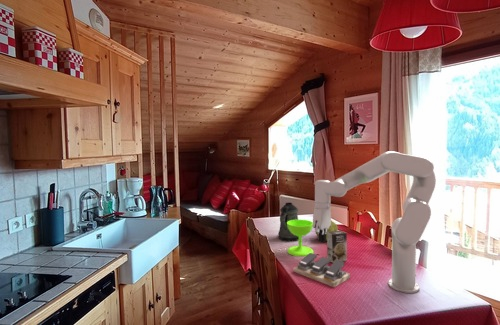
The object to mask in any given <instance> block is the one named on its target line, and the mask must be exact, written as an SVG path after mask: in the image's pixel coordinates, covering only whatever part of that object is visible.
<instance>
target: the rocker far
mask: <svg viewBox="0 0 500 325" xmlns="http://www.w3.org/2000/svg"><path fill="white" fill-rule="evenodd" d="M317 258H318V254H315V253H309V254H308V255H307V256H303V258H302V259H301V260H300V261H299V262H298V265H302V266H305V267H307V266H308V265H309V264H310V263H311V262H312V261H315V260H316V259H317Z"/></svg>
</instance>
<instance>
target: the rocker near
mask: <svg viewBox="0 0 500 325" xmlns="http://www.w3.org/2000/svg"><path fill="white" fill-rule="evenodd" d="M329 266H330V268H329V269H328V270H327V271H326V272H325V274H326V275H328V276H331V277H333V278H334V277H335V276H336V275H337V273H338V272H339V271H340V270H342V269H343V267H344V266H345V262H344V261H343V262H340V261H337V260H336V261H335V262H334V263H332V264H331V265H329Z"/></svg>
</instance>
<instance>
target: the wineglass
mask: <svg viewBox="0 0 500 325" xmlns="http://www.w3.org/2000/svg"><path fill="white" fill-rule="evenodd" d="M287 227H288V229H289V230H290V232H291V233H292V234H294V235H296V236H299V240H298V245H293V246H290V247H288V248H287V252H286V253H288V254H289V255H292V256H294V257H306V256H307V255H308V254H309V253H313V254H315V253H314V250H313V249H312V248H311V247H309V246H305V245H303V238H302V237H305V236H307V235H308V234H310V233H311V231H312V230H313V229H314V228H313V220H312V221H311V220H308V219H298V220H290V221H288V222H287Z"/></svg>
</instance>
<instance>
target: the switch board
mask: <svg viewBox="0 0 500 325" xmlns="http://www.w3.org/2000/svg"><path fill="white" fill-rule="evenodd" d="M316 262H317V261H315V260H313V261H312V262H311V263H310V264H309V265H308V266H307V267H305V266H302V265H299V264H297V266H294V267H293V272H294V273H297V274H299V275H301V276H304V277H307V278H309V279H311V280H314V281H317V282H320V283H322V284H325V285H327V286H330V287H333V288H336V287H337V286H339V285H341V284H342V283H344V282H345V281H348V280H349V279H350V278H351V273H349V272H347V271H345V270H342V269H341V270H340V271H339V272H338V273H337V275H336V276H335V277H334V278H333V277H331V276H328V275H326V274H325V272H326V271H327V270H328V269H329V268H330V266H331V265H328V264H327V265H326V266H325V267H324V268H323V269H322V270H321V271H320V272H319V271H316V270H313V269H312V268H311V267H312V266H313V265H314V264H315V263H316Z"/></svg>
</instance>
